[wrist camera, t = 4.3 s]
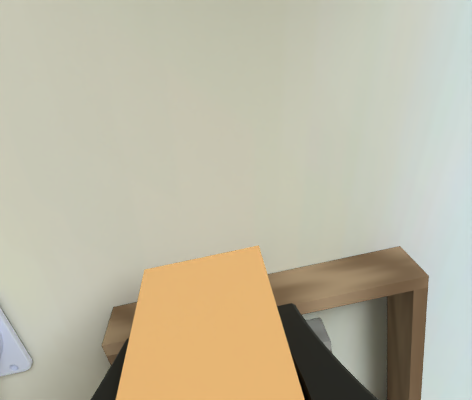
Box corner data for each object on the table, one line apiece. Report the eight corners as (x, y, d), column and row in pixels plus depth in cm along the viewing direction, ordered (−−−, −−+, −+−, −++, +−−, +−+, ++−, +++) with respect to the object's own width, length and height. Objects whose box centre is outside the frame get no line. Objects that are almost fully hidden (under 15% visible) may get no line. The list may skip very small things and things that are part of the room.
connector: (173, 352, 14) (159, 554, 9) (144, 269, 12) (103, 455, 7) (274, 330, 14) (323, 517, 9) (258, 245, 12) (307, 410, 7)
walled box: (178, 458, 29) (176, 502, 26) (113, 307, 22) (101, 345, 19) (396, 410, 29) (417, 449, 26) (400, 246, 22) (428, 275, 19)
